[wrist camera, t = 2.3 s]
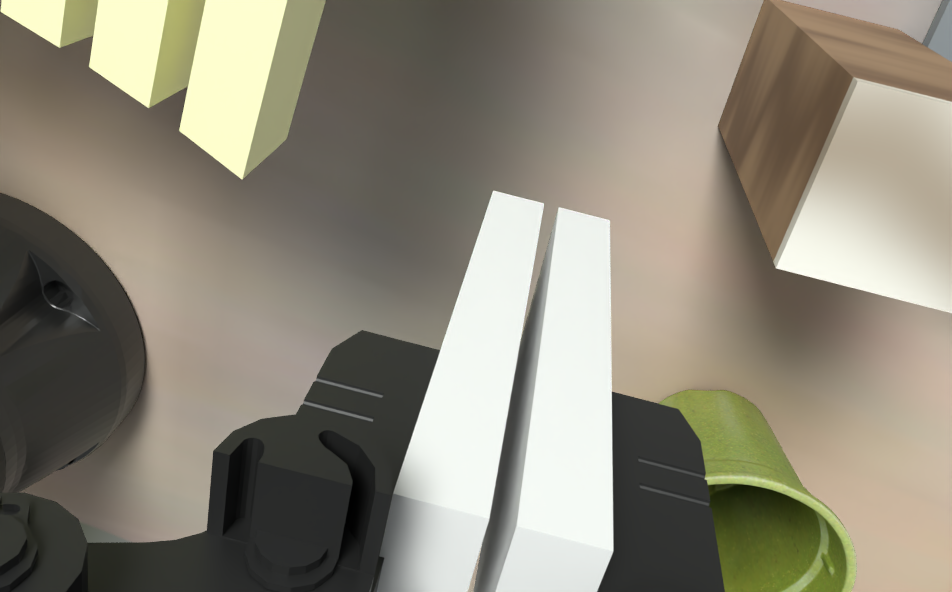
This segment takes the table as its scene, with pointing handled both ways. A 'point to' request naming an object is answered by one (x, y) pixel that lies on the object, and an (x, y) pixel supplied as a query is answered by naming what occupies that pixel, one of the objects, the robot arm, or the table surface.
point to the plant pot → (763, 503)
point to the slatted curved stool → (196, 61)
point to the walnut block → (846, 151)
